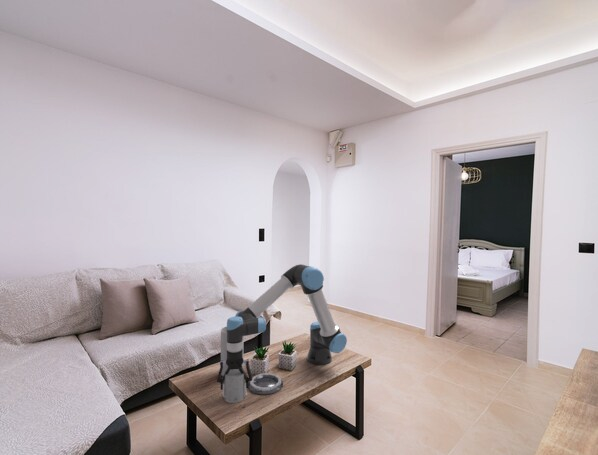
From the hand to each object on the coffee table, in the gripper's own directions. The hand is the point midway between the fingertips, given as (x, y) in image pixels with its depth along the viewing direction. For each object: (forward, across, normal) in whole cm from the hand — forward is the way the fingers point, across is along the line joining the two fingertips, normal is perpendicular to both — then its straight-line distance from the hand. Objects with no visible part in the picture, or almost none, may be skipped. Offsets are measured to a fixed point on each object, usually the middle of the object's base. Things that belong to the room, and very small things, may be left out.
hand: (234, 395), depth 154 cm
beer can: (+1, 0, 0) cm, 1 cm away
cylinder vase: (+1, -4, +25) cm, 25 cm away
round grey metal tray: (+1, +15, +10) cm, 18 cm away
